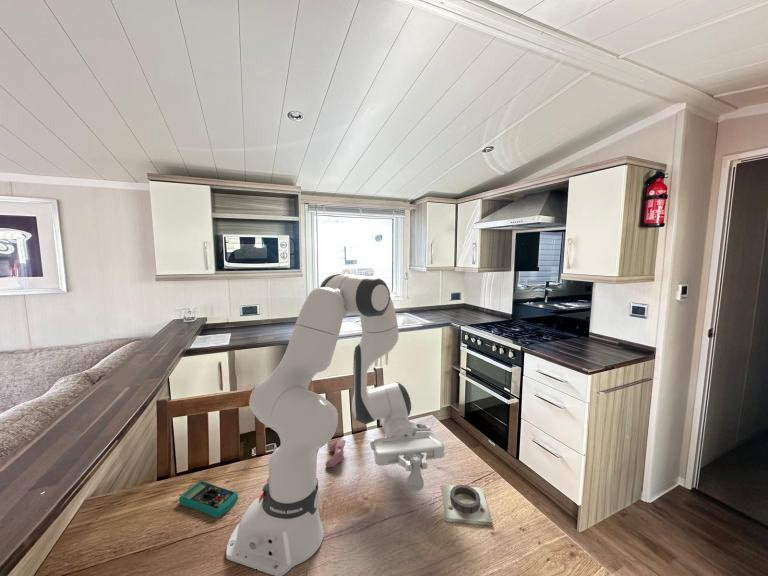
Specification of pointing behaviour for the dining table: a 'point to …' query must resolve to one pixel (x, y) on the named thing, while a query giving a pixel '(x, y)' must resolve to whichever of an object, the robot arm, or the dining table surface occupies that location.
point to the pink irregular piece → (336, 453)
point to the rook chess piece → (415, 474)
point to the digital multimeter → (209, 499)
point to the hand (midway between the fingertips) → (417, 467)
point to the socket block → (465, 505)
